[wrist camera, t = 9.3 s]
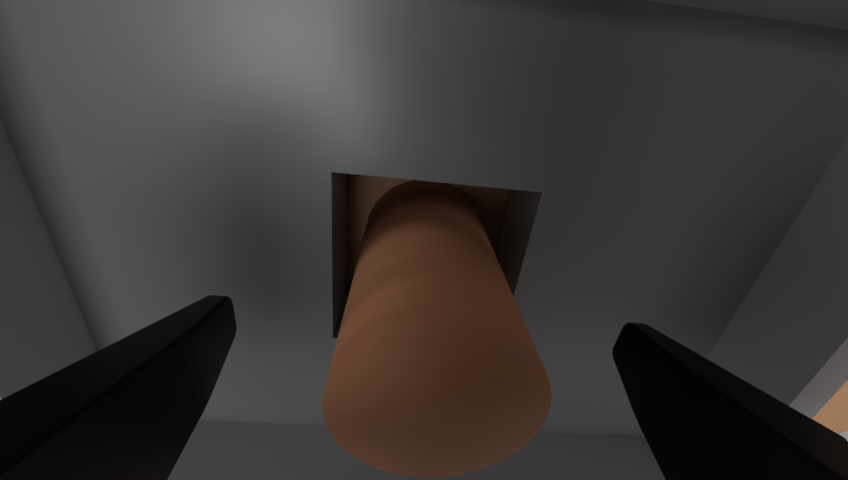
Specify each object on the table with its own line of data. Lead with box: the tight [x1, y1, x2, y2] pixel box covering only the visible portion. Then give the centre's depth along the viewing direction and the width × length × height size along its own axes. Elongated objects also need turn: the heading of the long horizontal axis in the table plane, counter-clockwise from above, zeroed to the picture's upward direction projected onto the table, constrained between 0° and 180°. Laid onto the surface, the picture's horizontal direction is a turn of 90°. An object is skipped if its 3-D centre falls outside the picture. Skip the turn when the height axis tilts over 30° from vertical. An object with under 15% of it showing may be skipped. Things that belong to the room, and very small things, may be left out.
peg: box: [322, 180, 552, 477], centre depth 9 cm, size 4×4×7 cm
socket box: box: [0, 0, 848, 480], centre depth 10 cm, size 22×16×5 cm
